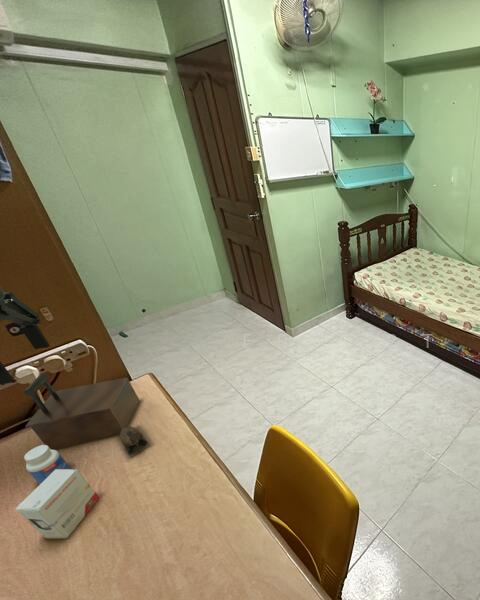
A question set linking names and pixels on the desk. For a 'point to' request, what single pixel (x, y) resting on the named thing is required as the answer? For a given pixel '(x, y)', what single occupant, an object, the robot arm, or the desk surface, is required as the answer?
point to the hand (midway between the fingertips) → (25, 363)
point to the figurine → (133, 440)
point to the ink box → (58, 503)
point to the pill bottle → (43, 462)
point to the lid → (73, 400)
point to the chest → (91, 423)
